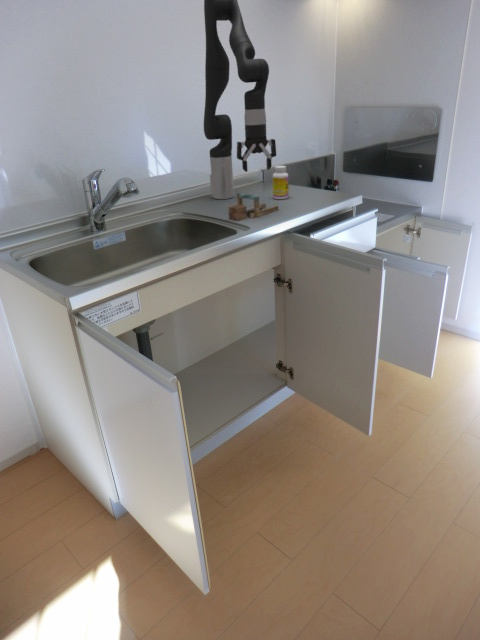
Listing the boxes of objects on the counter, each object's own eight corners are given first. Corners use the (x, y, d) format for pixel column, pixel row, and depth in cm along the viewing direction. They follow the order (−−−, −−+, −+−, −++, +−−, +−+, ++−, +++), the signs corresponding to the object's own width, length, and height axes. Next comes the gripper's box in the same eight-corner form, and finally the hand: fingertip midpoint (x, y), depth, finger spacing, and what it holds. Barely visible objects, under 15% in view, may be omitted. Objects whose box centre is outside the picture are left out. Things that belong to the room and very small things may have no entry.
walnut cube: (229, 219, 178) (228, 206, 176) (238, 216, 181) (237, 204, 179) (237, 221, 175) (237, 208, 173) (246, 218, 178) (246, 206, 176)
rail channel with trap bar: (235, 214, 184) (234, 194, 180) (261, 206, 192) (261, 187, 189) (253, 218, 177) (253, 198, 174) (280, 210, 186) (280, 190, 182)
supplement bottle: (287, 199, 201) (287, 167, 195) (271, 199, 202) (271, 168, 196) (289, 196, 206) (289, 165, 201) (274, 196, 208) (273, 165, 202)
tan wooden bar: (240, 217, 181) (239, 209, 179) (256, 212, 186) (256, 205, 185) (245, 218, 179) (245, 211, 178) (262, 213, 184) (261, 206, 183)
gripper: (271, 120, 175) (272, 167, 182) (233, 123, 172) (236, 170, 180) (277, 122, 168) (278, 170, 175) (237, 125, 166) (240, 173, 173)
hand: (257, 170), depth 178 cm, fingers open, 8 cm apart
